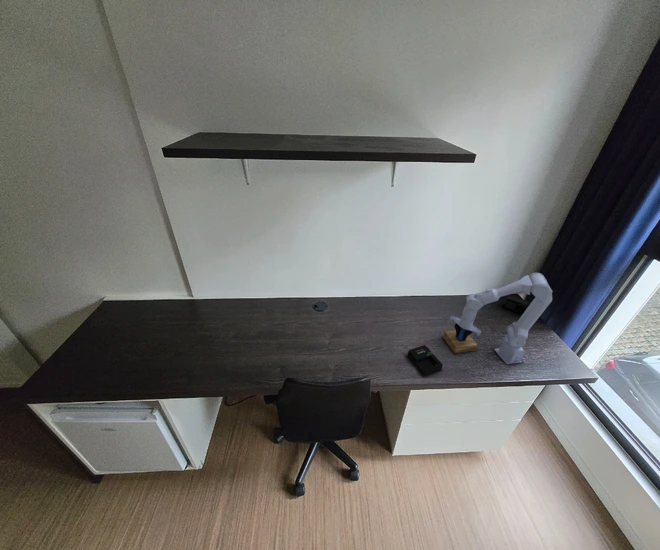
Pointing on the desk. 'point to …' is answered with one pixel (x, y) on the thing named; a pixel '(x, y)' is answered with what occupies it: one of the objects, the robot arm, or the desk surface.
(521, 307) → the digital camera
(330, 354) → the desk surface
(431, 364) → the battery charger
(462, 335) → the handle
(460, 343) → the holder
